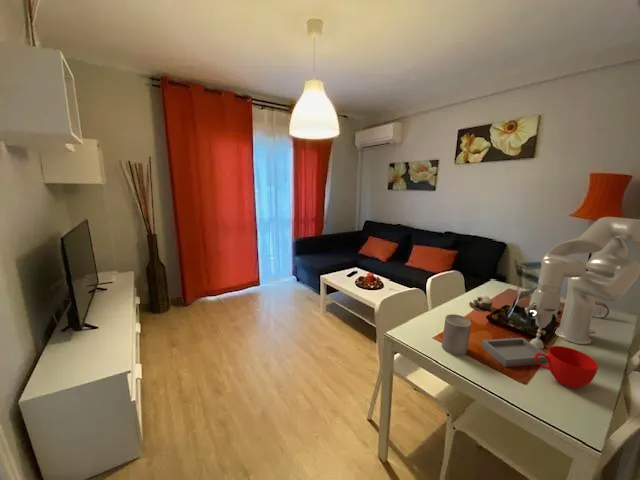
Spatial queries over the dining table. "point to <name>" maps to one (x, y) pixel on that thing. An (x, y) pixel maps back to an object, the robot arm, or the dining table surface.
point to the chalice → (541, 323)
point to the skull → (481, 303)
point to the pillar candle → (456, 334)
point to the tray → (513, 351)
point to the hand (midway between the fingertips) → (540, 325)
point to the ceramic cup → (569, 366)
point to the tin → (600, 310)
